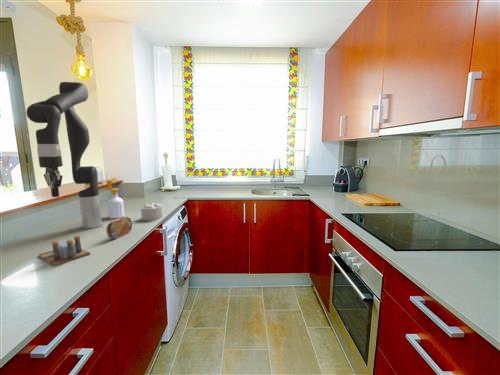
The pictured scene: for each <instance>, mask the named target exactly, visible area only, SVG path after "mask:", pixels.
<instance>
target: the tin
mask: <svg viewBox="0 0 500 375" xmlns="http://www.w3.org/2000/svg"><path fill="white" fill-rule="evenodd" d="M106 226H107V227H106V234H107V236H108V237H107V238H110V239H116V240H117V239H119V238H122V237H124V236H125V235H127V234H129V233H130V232H131V230H132V227H133V222H132V219H131V218H130V217H128V216H124V217H121V218H116V219H115V220H113V221H110V222H109V223H108V224H107V225H106Z"/></svg>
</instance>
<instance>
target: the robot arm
mask: <svg viewBox="0 0 500 375" xmlns="http://www.w3.org/2000/svg"><path fill="white" fill-rule="evenodd" d="M58 89H59V93H58V94H55V95H53V96H50V97H49V98H47V99H45V100H41V101H39V102H34V103H32V104H30V105H29V106H28V107H27V109H26V112H25V113H26V116H27V118H28V119H29V120H30V121H31V122H33V123H37V124H47V125H46V126H45V127H44V128H39V129H37V130H36V131H35V138H36V144H37V145H36V146H37V147H36V148H37V150H36V151H37V157H38V164H39V167H40V168H42V169H43V168H45V171H44V174H43V177H44V179H45V182H46V185H47V187H49V188H50V191H51V192H50V194H51V197H52V198H58V197H60V190H59V188H61V186H62V180H63V175H62V174H61V173H60V171H59V167H63V166H64V165H63V159H62V158H63V157H62V150H61V146H60V140H59V130H60V123H61V120H62V117H61V116H62V114H64V117H65V125H66V126H65V127H66V133H67V139H68V145H69V150H70V158H71V159H70V160H71V173H72V179H73V182H74V184H76V185H80V184H81V185H83V184H84V185H85V184H86V185H87V184H89V186H88V187H87V188H85V189H82V190H80V191H78V201H79V210H80V215H81V216H80V218H81V225H82V228H83V229H87V230H88V229H94V228H98V227H101V226H103V222H102V221H103V220H102V211H101V210H102V209H101V203H100V201H101V200H100V194H99V193H100V192H99V181H98V180H99V179H98V176H99V175H98V170H97V168H96V167H95V166H93V165H89V166H87V165H86V166H81V159H82V157H83V155H84V154H85V151H86V149H87V148H88V146H89V144H90V134H89V128H88V127H87V124H85V122H84V121H83V120H82V119H81V118H80V116H79V115H78V114H77V112H76V110H75V107H74V106H76V105H79V104H81V103H84V102H86V101H88V98H89V92H88V87H86V85H85V84H84V83H82V82H75V81H73V82H71V81H62V82H60V83H59V86H58Z"/></svg>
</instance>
